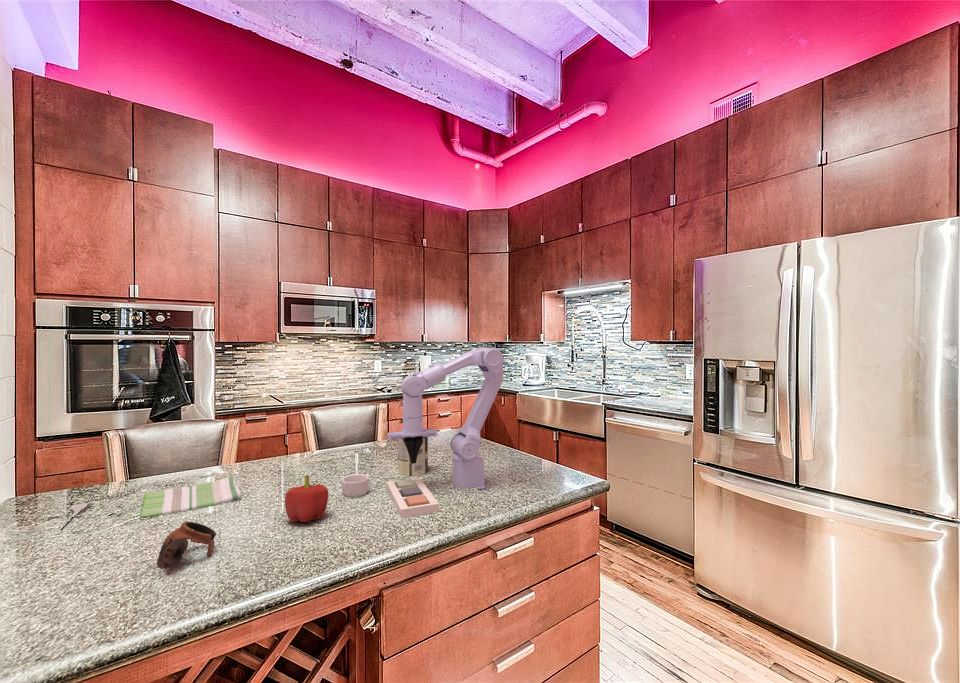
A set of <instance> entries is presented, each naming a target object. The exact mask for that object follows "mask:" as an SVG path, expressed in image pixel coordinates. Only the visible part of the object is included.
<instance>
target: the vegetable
mask: <svg viewBox="0 0 960 683" xmlns="http://www.w3.org/2000/svg"><path fill="white" fill-rule="evenodd" d="M328 502H329V490H328V488H327V487H326V486H325V485H322V484H320V483H318V484H315V485H311V484H310V477H309V475H304V485H302V486H297V487H295V486H293V487H291V488H290V489H288V490H287V492H286V493H285V496H284V508H285V512H286V515H287V517H288V519H289V520H290V521H291V522H294V523H297V522H301V523H305V522H306V523H307V522H309V521H312V520H313V521H314V520H319V519H321V518H322V517H323V516H324V514H325V512H326V510H327V507H328Z"/></svg>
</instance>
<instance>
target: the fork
mask: <svg viewBox="0 0 960 683" xmlns="http://www.w3.org/2000/svg"><path fill="white" fill-rule="evenodd" d="M88 504H89V505H94V503H93V502H84V503H78V504H75V505H74V506H72V509H71V510H73V514H72V515H71V516H72V517H74V516H75V515H76V516H77V515H78V514H79V512H81V511H82V510H83V509H85V508H87V506H88ZM76 516H75V517H76ZM75 517H74V518H75Z"/></svg>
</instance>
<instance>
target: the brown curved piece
mask: <svg viewBox="0 0 960 683" xmlns="http://www.w3.org/2000/svg"><path fill="white" fill-rule="evenodd" d="M216 536H217V532H216V531H215V530H214V529H212V528H211V527H208V526H206V525H204V524H201V523H199V522H196V521H195V522H194V521H184V522H182V523H181V526H180V527H178V528H176V529H175V530H173V531H171V532H170V533H169V534H168V535H167V537H166V538H165V539H164V541H163V543H162V545H161V548H160V551H159V553H158V558H157V560H156V564H157V566H158V567H160V568H161V569H162V570H164V568H165V569H166V567H167V565H168V566H169V567H173V566H178V565H180V563H181V560H182V557H183V556H184V554H185V553H186V550H187V549H188V546H189V540H190V542H191V543H196V544H203V545H208V548H207V552H206V556H207V557H210V556H211V554H212V553H213V549H215V540H214V539H215V538H216ZM209 555H210V556H209Z"/></svg>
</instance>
